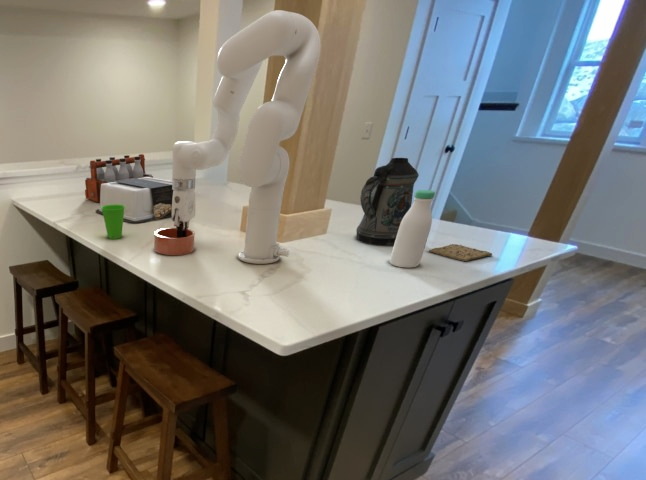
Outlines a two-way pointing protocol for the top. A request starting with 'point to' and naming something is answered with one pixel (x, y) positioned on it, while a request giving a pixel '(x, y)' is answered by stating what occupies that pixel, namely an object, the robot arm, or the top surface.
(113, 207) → the cup
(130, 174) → the milk bottle holder
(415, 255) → the milk bottle
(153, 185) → the cake box
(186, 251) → the bowl
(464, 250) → the cookie
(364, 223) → the beer stein
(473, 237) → the top surface
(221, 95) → the robot arm
